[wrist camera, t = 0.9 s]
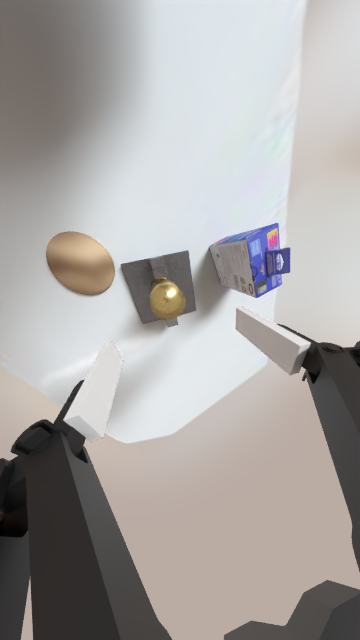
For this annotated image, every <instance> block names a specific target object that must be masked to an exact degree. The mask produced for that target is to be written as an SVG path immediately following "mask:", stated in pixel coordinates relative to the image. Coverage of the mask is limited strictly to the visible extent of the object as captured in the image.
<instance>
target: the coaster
mask: <svg viewBox="0 0 360 640" xmlns="http://www.w3.org/2000/svg"><path fill="white" fill-rule="evenodd" d="M46 257H47V262H48V265H49V267H50V269H51V271H52V273H53V274H54V276H55V277H56V278H57V279H58V280H59V281H60V282H61V283H62V284H63V285H65V286H66V287H68V288H69V289H71V290H73V291H76V292H79V293H82V294H97V293H100V292H102V291H104V290H106V289H107V288H108V287H109V286H110V285H111V283H112V282H113V279H114V274H115V269H114V264H113V261H112V258H111V256H110V255H109V253H108V252H107V250H106V249H105V248H104V247H103V246H102V245H101V244H100V243H99V242H98V241H96V240H95V239H93V238H92V237H90V236H87V235H85V234H82V233H78V232H63V233H60V234H58V235H56V236H55V237H53V238H52V239H51V241H50V242H49V244H48V246H47V251H46Z"/></svg>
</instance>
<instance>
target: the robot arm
mask: <svg viewBox="0 0 360 640" xmlns="http://www.w3.org/2000/svg"><path fill="white" fill-rule="evenodd" d="M236 330H237V331H238V332H240V333H241V334H242V335H243V336H244V337H245V338H247V339H248V340H249V341H250V342H251V343H252V344H254V345H255V346H256V347H257V348H258V349H259V350H261V351H262V352H263V353H264V354H265V355H267V356H268V357H269V358H270V359H271V360H272V361H274V362H275V363H276V364H277V365H278V366H279V367H281V368H282V369H283V370H284V371H285V372H287V373H288V374H289V375H293V374H295V373H299V371H300V369H301V366H302V367H303V368H305V369H306V371H305V373H304V375H303V378H302V381H305V378H307V382H308V384H309V387H310V390H311V394H312V397H313V400H314V403H315V406H316V409H317V412H318V416H319V419H320V422H321V425H322V428H323V431H324V434H325V437H326V441H327V444H328V447H329V450H330V453H331V456H332V460H333V463H334V466H335V469H336V472H337V475H338V479H339V482H340V485H341V488H342V491H343V494H344V497H345V501H346V504H347V507H348V510H349V513H350V517H351V520H352V545H353V549H354V553H355V557H356V560H357V564H358V567H359V571H360V341H359V342H357V343H356V345H355V346H354V347H350V348H342V347H340V346H338V345H335V344H332V343H324V342H323V343H317V342H315V341H313V340H311V339H310V338H308V337H306V336H304V335H302V334H300V333H297V332H296V331H294V330H292V329H290V328H288V327H286V326H284V325H280V324H275V323H273V322H271V321H270V320H268V319H266V318H264V317H262V316H260V315H258V314H257V313H255V312H253V311H251V310H249V309H247V308H245V307H244V306H242V307H238V308H236ZM123 361H124V360H123V359H122V357H121V355H120V353H119V351H118V350H117V348H116V346H115V344H114V342H113V341H109V342H105V343H104V345H103V346H102V348H101V350H100V352H99V354H98V356H97V358H96V360H95V361H94V363H93V365H92V367H91V369H90V371H89V373H88V375H87V376H86V378H85V380H81V381H80V382H79V383H78V384H77V385H76V386H75V388H74V389H73V391H72V393H71V394H70V396H69V398H68V399H67V402H66V403H65V405H64V406H63V408H62V410H61V412H60V414H59V415H58V417H57V418H56V420H55V422H54V424H52V423H51V422H50V421H48V420H41V421H38V422H36V423H35V424H33V425H31V426H30V427H29V428H28V429H26V430H25V431H24V432H23V433H22V434H21V435H20V436H19V437H18V439H17V440H16V441H15V443H14V445H13V446H12V449H11V452H12V453H14V454H17V455H18V456H17V457H15V458H14V459H12V460H10V461H8V460H6V459H4V458H2V459H0V640H21V633H22V626H23V619H24V612H25V606H26V599H27V592H28V586H29V579H30V578H31V600H32V620H33V621H32V622H33V640H172V639H171V637H170V635H169V634H168V632H167V630H166V629H165V628H164V627H163V626H162V624H161V623H160V622H159V621H158V619H157V617H156V615H155V613H154V610H153V608H152V606H151V603H150V601H149V598H148V597H147V594H146V591H145V589H144V586H143V584H142V582H141V579H140V577H139V574H138V572H137V570H136V567H135V565H134V563H133V560H132V558H131V555H130V553H129V551H128V548H127V546H126V543H125V541H124V539H123V536H122V534H121V531H120V529H119V527H118V524H117V522H116V519H115V517H114V515H113V512H112V510H111V508H110V505H109V503H108V500H107V498H106V496H105V493H104V491H103V488H102V486H101V484H100V481H99V479H98V477H97V474H96V472H95V469H94V467H93V464H92V462H91V460H90V457H89V455H88V453H87V450H86V448H85V447H84V446H83V444H84V442H85V439H88V440H89V441H90V442H93V441H95V440H99V439H102V438H104V434H105V431H106V427H107V423H108V419H109V415H110V411H111V407H112V403H113V400H114V396H115V392H116V388H117V384H118V380H119V376H120V372H121V369H122V365H123ZM224 640H360V590H358V589H355V588H352V587H349V586H345V585H342V584H339V583H336V582H332V581H329V580H326V581H325V582H323V583H321V584H319V585H317V586H315V587H313V588H311V589H310V590H308V591H306V592H304V593H303V595H302V597H301V599H300V601H299V603H298V604H297V606H296V608H295V610H294V612H293V614H292V615H291V618H290V619H289V621H288V623H287V624H286V625H285V626H279V625H273V624H267V623H262V622H256V621H250V622H248V623H246V624H244V625H242V626H240V627H238V628H237V629H235V630H233V631H231V632H229V633H227V634H226V635H224Z"/></svg>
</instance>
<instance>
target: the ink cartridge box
mask: <svg viewBox="0 0 360 640" xmlns="http://www.w3.org/2000/svg"><path fill="white" fill-rule="evenodd" d="M278 224H279V223H275V224H272V225H269V226H265V227H262V228H258V229H255V230H251V231H248V232H244V233H240V234H236V235H232V236H228V237H225V238H224V239H222V240H220V241H218V242H216V243H214V244H212V245H211V246H210V250H211V253H212V257H213V260H214V263H215V266H216V270H217V273H218V276H219V279H220V282H221V285H223V286H226V287H229V288H231V289H234V290H237V291H239V292H242V293H245V294H247V295H250V296H252V297H255V298H258V297H260V296H262V295H263V294H265V293H267V292H269V291H271V290H273V289H274V288H276V287H278V286H280V285H281V284H282V278H281V274H284V273H289V272H290V248H284V249H280V244H279V226H278ZM280 254H281V255H282V258H283V261H284V263H283V267H282V269H281V261H280Z"/></svg>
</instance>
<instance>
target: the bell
mask: <svg viewBox="0 0 360 640" xmlns="http://www.w3.org/2000/svg"><path fill="white" fill-rule="evenodd" d="M185 305H186V299H185V296H184V294H183V292H182V291H181V290H180V289H179V288H178V286H177V285H176V284H175V283H174V282H173V281H172V280H170V279H166V277H163V278H158V279H157V281H155V282H154V283H153V285H152V286H151V290H150V306H151V309H152V311H153V313H154V314H155V315H156V316H158V317H159V318H162V319H173V318H176V317H177V316H179V315H180V314H181V313H182V312H183V310H184V308H185Z"/></svg>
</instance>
